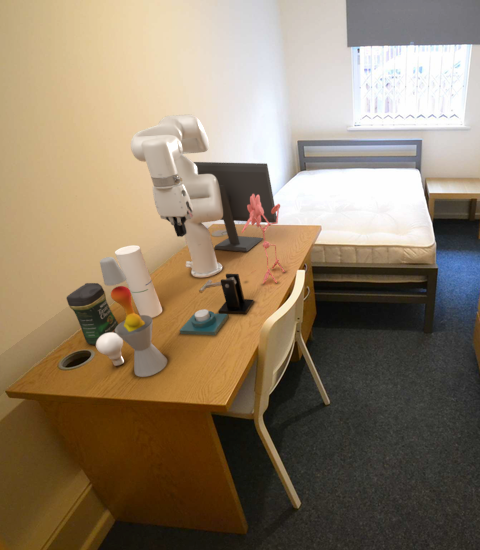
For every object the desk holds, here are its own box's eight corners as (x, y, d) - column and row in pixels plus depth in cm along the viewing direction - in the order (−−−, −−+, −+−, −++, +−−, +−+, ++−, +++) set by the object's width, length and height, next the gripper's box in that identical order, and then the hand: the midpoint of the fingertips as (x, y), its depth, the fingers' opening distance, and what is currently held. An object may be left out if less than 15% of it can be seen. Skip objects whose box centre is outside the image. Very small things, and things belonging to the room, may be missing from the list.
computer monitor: (286, 241, 184) (274, 159, 165) (272, 254, 170) (257, 168, 151) (210, 235, 193) (190, 158, 174) (191, 248, 180) (167, 165, 160)
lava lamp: (128, 367, 106) (79, 260, 89) (160, 351, 112) (120, 248, 95) (140, 382, 101) (90, 271, 84) (173, 364, 107) (133, 257, 90)
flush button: (193, 321, 120) (191, 316, 119) (200, 314, 124) (198, 309, 123) (206, 322, 120) (204, 317, 119) (212, 314, 123) (211, 309, 122)
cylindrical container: (166, 309, 133) (144, 246, 121) (150, 320, 127) (126, 255, 115) (151, 305, 135) (128, 244, 123) (135, 316, 129) (109, 253, 117)
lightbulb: (114, 357, 110) (100, 328, 105) (135, 356, 110) (122, 327, 105) (102, 372, 105) (87, 342, 99) (125, 371, 105) (111, 341, 100)
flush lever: (200, 294, 126) (197, 288, 125) (210, 284, 133) (207, 278, 131) (231, 289, 124) (228, 283, 123) (239, 279, 130) (236, 273, 129)
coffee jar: (107, 346, 115) (83, 296, 106) (83, 346, 115) (57, 297, 106) (125, 327, 123) (105, 280, 114) (103, 327, 124) (80, 280, 115)
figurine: (293, 263, 162) (282, 185, 145) (271, 293, 140) (255, 206, 123) (260, 261, 164) (245, 184, 147) (234, 291, 142) (213, 205, 125)
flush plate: (180, 334, 119) (177, 325, 118) (196, 316, 128) (193, 308, 126) (215, 335, 118) (212, 326, 117) (228, 317, 127) (226, 309, 125)
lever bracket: (218, 313, 129) (210, 282, 123) (228, 301, 136) (221, 271, 130) (245, 314, 128) (238, 283, 122) (254, 302, 135) (247, 272, 129)
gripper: (194, 177, 117) (208, 231, 126) (151, 178, 118) (167, 230, 127) (182, 184, 110) (197, 239, 119) (136, 184, 112) (154, 239, 121)
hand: (182, 235), depth 123 cm, fingers closed
